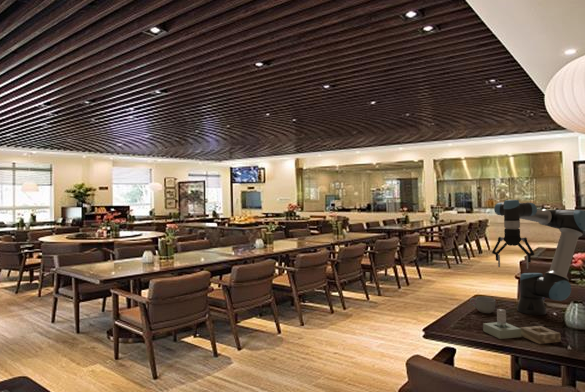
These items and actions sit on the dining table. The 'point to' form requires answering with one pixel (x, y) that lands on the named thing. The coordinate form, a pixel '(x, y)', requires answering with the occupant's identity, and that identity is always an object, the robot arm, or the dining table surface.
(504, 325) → the lock pin
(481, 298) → the teacup
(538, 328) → the block
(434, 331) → the dining table surface
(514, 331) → the socket block
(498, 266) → the robot arm
